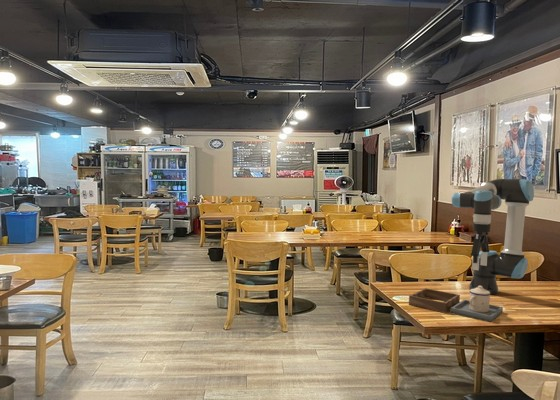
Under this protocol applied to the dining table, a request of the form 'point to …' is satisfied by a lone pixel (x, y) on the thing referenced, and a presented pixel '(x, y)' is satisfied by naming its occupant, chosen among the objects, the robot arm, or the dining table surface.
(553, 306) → the dining table surface
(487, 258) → the robot arm
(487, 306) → the teacup with lid
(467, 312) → the charcoal tray
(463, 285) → the dining table surface
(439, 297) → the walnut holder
